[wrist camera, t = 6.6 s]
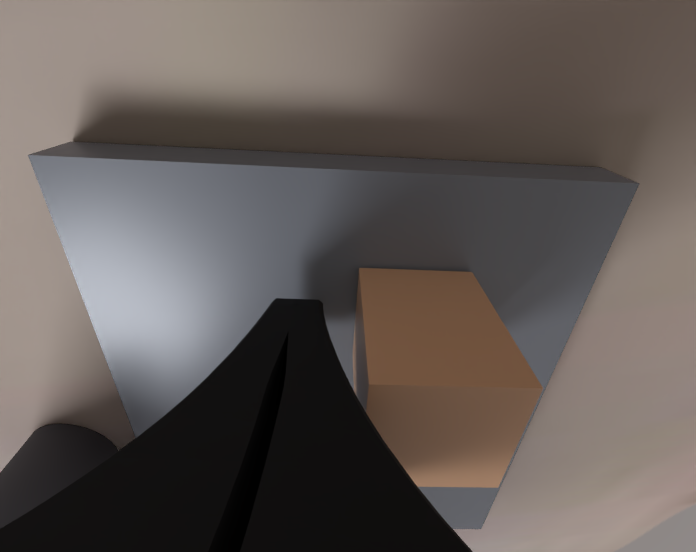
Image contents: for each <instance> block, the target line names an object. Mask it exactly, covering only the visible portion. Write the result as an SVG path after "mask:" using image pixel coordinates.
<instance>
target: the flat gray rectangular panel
mask: <svg viewBox="0 0 696 552" xmlns="http://www.w3.org/2000/svg"><path fill="white" fill-rule="evenodd" d="M28 156H29V159H30V162H31V164H32V167H33V170H34V172H35V175H36V177H37V180H38V183H39V185H40V188H41V191H42V193H43V196H44V198H45V201H46V204H47V206H48V209H49V212H50V214H51V217H52V219H53V222H54V225H55V227H56V230H57V233H58V235H59V238H60V240H61V243H62V246H63V248H64V251H65V254H66V256H67V259H68V261H69V264H70V267H71V269H72V272H73V275H74V277H75V280H76V282H77V285H78V288H79V290H80V293H81V296H82V298H83V301H84V303H85V306H86V309H87V311H88V314H89V317H90V319H91V322H92V324H93V327H94V330H95V332H96V335H97V338H98V340H99V343H100V345H101V348H102V351H103V353H104V356H105V359H106V361H107V364H108V366H109V369H110V372H111V374H112V377H113V380H114V382H115V385H116V387H117V390H118V393H119V395H120V398H121V401H122V403H123V406H124V408H125V411H126V414H127V416H128V419H129V422H130V424H131V427H132V429H133V432H134V435H135V437H136V438H137V437H138V436H139V435H141V434H142V433H143V432H144V431H146V430H147V429H148V428H149V427H151V426H152V425H153V424H154V423H156V422H157V421H158V420H159V419H161V418H162V417H163V416H164V415H166V414H167V413H168V412H169V411H170V410H171V409H173V408H174V407H175V406H176V405H177V404H178V403H179V402H181V401H182V400H183V399H184V398H185V397H186V396H187V395H189V394H190V393H191V392H192V391H193V390H194V389H195V388H196V387H197V386H198V385H199V384H200V383H201V382H203V381H204V380H205V379H206V378H207V377H208V376H209V375H210V374H211V373H212V371H213V370H214V369H215V368H216V367H217V366H218V365H219V364H220V363H221V362H222V361H223V360H224V359H225V358H226V357H227V356H228V355H229V354H230V353H231V352H232V351H233V350H234V348H235V347H236V346H237V345H238V344H239V343H240V341H241V340H242V339H243V338H244V337H245V336H246V335H247V333H248V332H249V331H250V330H251V329H252V327H253V326H254V325H255V324H256V322H257V321H258V320H259V319H260V317H261V316H262V315H263V313H264V312H265V311H266V309H267V308H268V307H269V305H270V304H271V303H272V301H274V300H275V299H276V298H284V299H315V300H320V301H321V302H322V303H323V311H324V317H325V321H326V325H327V329H328V332H329V335H330V338H331V341H332V344H333V346H334V349H335V351H336V354H337V356H338V359H339V361H340V363H341V366H342V368H343V370H344V372H345V374H346V376H347V378H348V380H349V382H350V385H351V386H352V388H353V390H354V378H353V342H354V328H355V315H356V302H357V289H358V275H359V268H379V269H406V270H434V271H461V272H472V273H473V274H474V276H475V278H476V279H477V281H478V283H479V284H480V286H481V287H482V289H483V291H484V292H485V294H486V296H487V297H488V299H489V301H490V302H491V304H492V305H493V307H494V309H495V310H496V312H497V314H498V315H499V317H500V319H501V320H502V322H503V323H504V325H505V327H506V328H507V330H508V332H509V333H510V335H511V337H512V338H513V340H514V341H515V343H516V345H517V346H518V348H519V350H520V351H521V353H522V355H523V356H524V358H525V359H526V361H527V363H528V364H529V366H530V368H531V369H532V371H533V373H534V374H535V376H536V377H537V379H538V381H539V382H540V384H541V386H542V387H543V390H542V392H541V395H540V397H539V399H538V401H537V403H536V406H535V408H534V410H533V412H532V414H531V417H530V419H529V421H528V423H527V425H526V428H525V430H524V432H523V434H522V436H521V439H520V441H519V443H518V445H517V447H516V450H515V452H514V454H513V456H512V458H511V461H510V463H509V465H508V467H507V469H506V472H505V474H504V476H503V478H502V480H501V483H500V485H499V487H498V488H482V487H418V488H419V489H420V490H421V492H422V493H423V494H424V495H425V496H426V498H427V499H428V500H429V501H430V503H431V504H432V505H433V506H434V508H435V509H436V510H437V511H438V513H439V514H440V515H441V516H442V517H443V518H444V520H445V521H446V522H447V523H448V524H449V525H450V527H451V528H452V529H481V528H482V526H483V523H484V521H485V519H486V517H487V515H488V513H489V510H490V508H491V506H492V504H493V502H494V499H495V497H496V495H497V493H498V491H499V489H500V486H501V484H502V482H503V480H504V478H505V475H506V473H507V471H508V469H509V467H510V465H511V462H512V460H513V458H514V456H515V454H516V452H517V449H518V447H519V445H520V443H521V441H522V438H523V436H524V434H525V432H526V430H527V428H528V425H529V423H530V421H531V419H532V417H533V414H534V412H535V410H536V408H537V406H538V404H539V401H540V399H541V397H542V395H543V393H544V390H545V388H546V386H547V384H548V382H549V380H550V377H551V375H552V373H553V371H554V369H555V366H556V364H557V362H558V360H559V358H560V356H561V353H562V351H563V349H564V347H565V345H566V342H567V340H568V338H569V336H570V334H571V332H572V329H573V327H574V325H575V323H576V321H577V319H578V316H579V314H580V312H581V310H582V308H583V305H584V303H585V301H586V299H587V297H588V295H589V292H590V290H591V288H592V286H593V284H594V281H595V279H596V277H597V275H598V273H599V271H600V268H601V266H602V264H603V262H604V260H605V257H606V255H607V253H608V251H609V249H610V247H611V244H612V242H613V240H614V238H615V236H616V233H617V231H618V229H619V227H620V225H621V223H622V220H623V218H624V216H625V214H626V212H627V209H628V207H629V205H630V203H631V201H632V199H633V196H634V194H635V192H636V190H637V188H638V185H639V183H637V182H634V181H632V180H630V179H627V178H625V177H623V176H620V175H618V174H615V173H613V172H611V171H608V170H606V169H604V168H601V167H583V166H563V165H542V164H521V163H501V162H480V161H459V160H439V159H418V158H397V157H377V156H356V155H335V154H315V153H294V152H273V151H253V150H232V149H211V148H191V147H170V146H149V145H129V144H108V143H87V142H68V143H65V144H62V145H58V146H55V147H52V148H49V149H46V150H42V151H39V152H36V153H33V154H30V155H28Z"/></svg>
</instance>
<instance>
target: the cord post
mask: <svg viewBox="0 0 696 552" xmlns="http://www.w3.org/2000/svg"><path fill="white" fill-rule="evenodd" d="M117 452H118V450H117V449H116V447H115V446H114V445H113V444H112V443H111V442H110V441H109V440H108V439H107V438H105V437H104V436H102V435H100V434H98V433H96V432H94V431H92V430H89V429H87V428H83V427H80V426H75V425H68V424H52V425H47V426H43V427H41V428H39V429H37V430H36V431H34V432H33V434H32V435H31V436H30V437H29V439H28V440H27V441H26V442H25V443H24V445H23V446H22V447H21V448H20V450H19V451H18V452H17V453H16V454H15V456H14V457H13V458H12V459H11V460H10V462H9V463H8V464H7V465H6V467H5V468H4V469H3V470H2V471H1V473H0V529H1V528H2V527H4V526H6V525H7V524H9V523H11V522H12V521H14V520H16V519H17V518H19V517H21V516H22V515H24V514H26V513H27V512H29V511H30V510H32V509H34V508H35V507H37V506H38V505H40V504H41V503H43V502H45V501H46V500H48V499H49V498H51V497H52V496H54V495H55V494H57V493H58V492H60V491H61V490H63V489H64V488H66V487H68V486H69V485H71V484H72V483H74V482H75V481H76V480H78V479H79V478H81V477H82V476H84V475H85V474H87V473H88V472H89V471H91V470H92V469H94V468H95V467H97V466H98V465H100V464H101V463H103V462H104V461H105V460H107V459H108V458H110V457H111V456H113V455H114V454H115V453H117Z"/></svg>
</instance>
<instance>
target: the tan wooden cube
mask: <svg viewBox="0 0 696 552" xmlns="http://www.w3.org/2000/svg"><path fill="white" fill-rule="evenodd" d="M353 378H354V392H355V394H356V396H357V398H358V400H359V401H360V403H361V405H362V406H363V408H364V410H365V412H366V413H367V415H368V417H369V418H370V420H371V421H372V423H373V425H374V426H375V428H376V429H377V431H378V432H379V434H380V435H381V437H382V439H383V440H384V442H385V443H386V444H387V446H388V447H389V449H390V450H391V451H392V453H393V454H394V455H395V457H396V458H397V459H398V461H399V462H400V464H401V465H402V466H403V468H404V469H405V470H406V472H407V473H408V475H409V476H410V477H411V479H412V480H413V481H414V483H415V484H416V485H417V487H482V488H498V487H499V485H500V483H501V480H502V478H503V476H504V474H505V472H506V469H507V467H508V465H509V463H510V461H511V458H512V456H513V454H514V452H515V450H516V447H517V445H518V443H519V441H520V439H521V436H522V434H523V432H524V430H525V428H526V425H527V423H528V421H529V419H530V417H531V414H532V412H533V410H534V408H535V406H536V403H537V401H538V399H539V397H540V395H541V392H542V390H543V387H542V386H541V384H540V382H539V381H538V379H537V377H536V376H535V374H534V373H533V371H532V369H531V368H530V366H529V364H528V363H527V361H526V359H525V358H524V356H523V355H522V353H521V351H520V350H519V348H518V346H517V345H516V343H515V341H514V340H513V338H512V337H511V335H510V333H509V332H508V330H507V328H506V327H505V325H504V323H503V322H502V320H501V319H500V317H499V315H498V314H497V312H496V310H495V309H494V307H493V305H492V304H491V302H490V301H489V299H488V297H487V296H486V294H485V292H484V291H483V289H482V287H481V286H480V284H479V283H478V281H477V279H476V278H475V276H474V274H473V273H472V272H461V271H434V270H406V269H379V268H359V275H358V289H357V302H356V315H355V328H354V342H353Z"/></svg>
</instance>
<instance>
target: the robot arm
mask: <svg viewBox="0 0 696 552" xmlns="http://www.w3.org/2000/svg"><path fill="white" fill-rule="evenodd" d="M0 552H472V551H471V549H470V548H469V547H468V546H467V545H466V544H465V543H464V542H463V541H462V539H461V538H460V537H459V536H458V535H457V534H456V532H455V531H454V530H453V529H452V528H451V527H450V525H449V524H448V523H447V522H446V521H445V520H444V518H443V517H442V516H441V515H440V514H439V513H438V511H437V510H436V509H435V508H434V506H433V505H432V504H431V503H430V501H429V500H428V499H427V498H426V496H425V495H424V494H423V493H422V492H421V490H420V489H419V488H418V487H417V485H416V484H415V483H414V481H413V480H412V479H411V477H410V476H409V475H408V473H407V472H406V470H405V469H404V468H403V466H402V465H401V464H400V462H399V461H398V459H397V458H396V457H395V455H394V454H393V453H392V451H391V450H390V449H389V447H388V446H387V444H386V443H385V442H384V440H383V439H382V437H381V435H380V434H379V432H378V431H377V429H376V428H375V426H374V425H373V423H372V421H371V420H370V418H369V417H368V415H367V413H366V412H365V410H364V408H363V406H362V405H361V403H360V401H359V400H358V398H357V396H356V394H355V392H354V390H353V388H352V386H351V385H350V382H349V380H348V378H347V376H346V374H345V372H344V370H343V368H342V366H341V363H340V361H339V359H338V356H337V354H336V351H335V349H334V346H333V344H332V341H331V338H330V335H329V332H328V329H327V325H326V321H325V317H324V311H323V303H322V302H321V301H320V300H315V299H284V298H276V299H275V300H274V301H272V303H271V304H270V305H269V307H268V308H267V309H266V311H265V312H264V313H263V315H262V316H261V317H260V319H259V320H258V321H257V322H256V324H255V325H254V326H253V327H252V329H251V330H250V331H249V332H248V333H247V335H246V336H245V337H244V338H243V339H242V340H241V341H240V343H239V344H238V345H237V346H236V347H235V348H234V350H233V351H232V352H231V353H230V354H229V355H228V356H227V357H226V358H225V359H224V360H223V361H222V362H221V363H220V364H219V365H218V366H217V367H216V368H215V369H214V370H213V371H212V373H211V374H210V375H209V376H208V377H207V378H206V379H205V380H204V381H203V382H201V383H200V384H199V385H198V386H197V387H196V388H195V389H194V390H193V391H192V392H191V393H190V394H189V395H187V396H186V397H185V398H184V399H183V400H182V401H181V402H179V403H178V404H177V405H176V406H175V407H174V408H173V409H171V410H170V411H169V412H168V413H167V414H166V415H164V416H163V417H162V418H161V419H159V420H158V421H157V422H156V423H154V424H153V425H152V426H151V427H149V428H148V429H147V430H146V431H144V432H143V433H142V434H141V435H139V436H138V437H137V438H135V439H134V440H133V441H131V442H130V443H129V444H128V445H126V446H125V447H124V448H122V449H121V450H119V451H118V452H117V453H115V454H114V455H113V456H111V457H110V458H108V459H107V460H105V461H104V462H103V463H101V464H100V465H98V466H97V467H95V468H94V469H92V470H91V471H89V472H88V473H87V474H85V475H84V476H82V477H81V478H79V479H78V480H76V481H75V482H74V483H72V484H71V485H69V486H68V487H66V488H64V489H63V490H61V491H60V492H58V493H57V494H55V495H54V496H52V497H51V498H49V499H48V500H46V501H45V502H43V503H41V504H40V505H38V506H37V507H35V508H34V509H32V510H30V511H29V512H27V513H26V514H24V515H22V516H21V517H19V518H17V519H16V520H14V521H12V522H11V523H9V524H7V525H6V526H4V527H2V528H1V529H0Z"/></svg>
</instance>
